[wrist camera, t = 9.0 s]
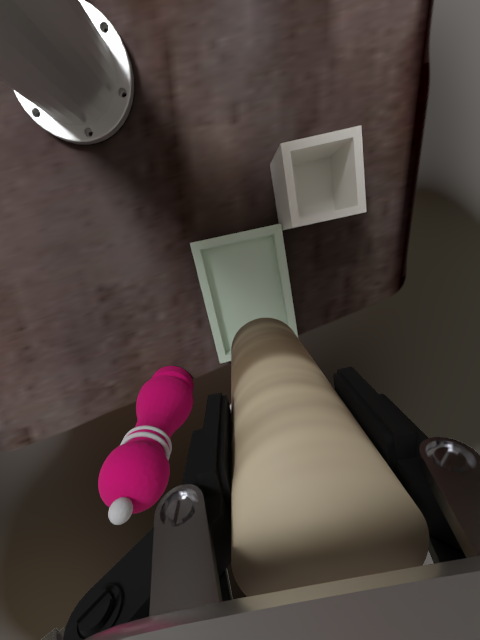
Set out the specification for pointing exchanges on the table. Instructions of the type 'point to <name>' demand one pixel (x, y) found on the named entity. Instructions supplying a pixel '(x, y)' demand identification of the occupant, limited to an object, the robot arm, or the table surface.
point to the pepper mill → (146, 446)
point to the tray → (243, 282)
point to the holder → (319, 178)
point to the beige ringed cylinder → (307, 475)
